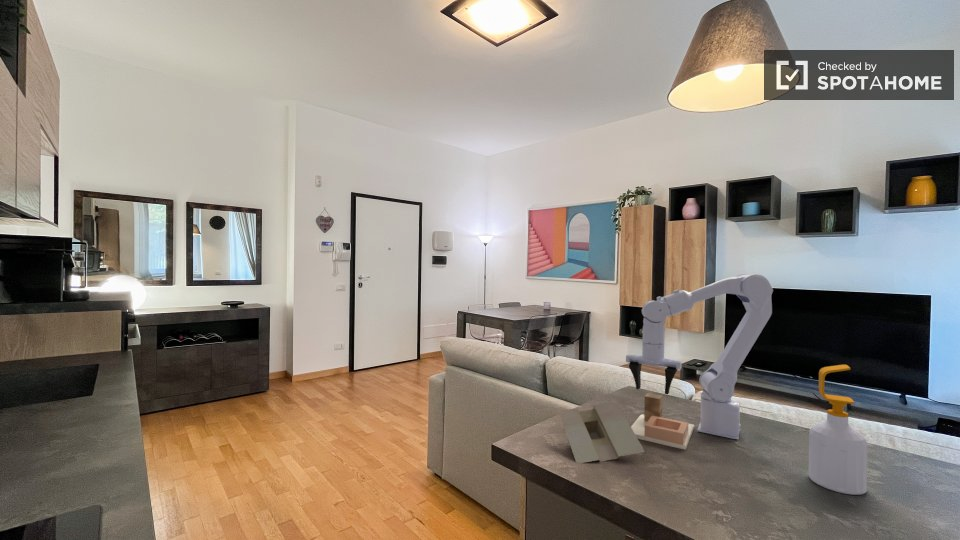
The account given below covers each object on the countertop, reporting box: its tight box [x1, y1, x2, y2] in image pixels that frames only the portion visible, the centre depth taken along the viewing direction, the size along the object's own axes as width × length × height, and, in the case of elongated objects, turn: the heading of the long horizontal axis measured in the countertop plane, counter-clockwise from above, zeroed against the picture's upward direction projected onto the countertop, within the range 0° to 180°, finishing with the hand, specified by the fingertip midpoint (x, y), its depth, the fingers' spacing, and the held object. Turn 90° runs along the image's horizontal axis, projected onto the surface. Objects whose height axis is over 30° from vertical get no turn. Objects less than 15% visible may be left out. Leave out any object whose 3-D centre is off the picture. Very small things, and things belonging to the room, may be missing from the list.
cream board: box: [630, 413, 695, 451], centre depth 110 cm, size 14×17×1 cm
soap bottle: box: [808, 364, 868, 496], centre depth 84 cm, size 9×9×25 cm
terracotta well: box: [645, 416, 689, 445], centre depth 106 cm, size 9×9×3 cm
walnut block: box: [643, 392, 663, 422], centre depth 116 cm, size 4×4×7 cm
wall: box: [558, 402, 646, 464], centre depth 100 cm, size 16×9×15 cm
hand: (652, 390), depth 116 cm, fingers open, 7 cm apart
